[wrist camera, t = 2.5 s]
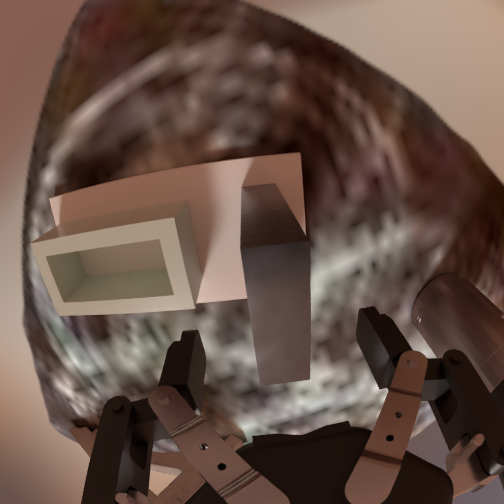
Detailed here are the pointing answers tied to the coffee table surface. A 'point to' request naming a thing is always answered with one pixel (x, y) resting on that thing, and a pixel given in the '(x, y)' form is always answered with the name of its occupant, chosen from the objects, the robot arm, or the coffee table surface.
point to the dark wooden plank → (276, 284)
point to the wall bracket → (163, 468)
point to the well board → (157, 237)
